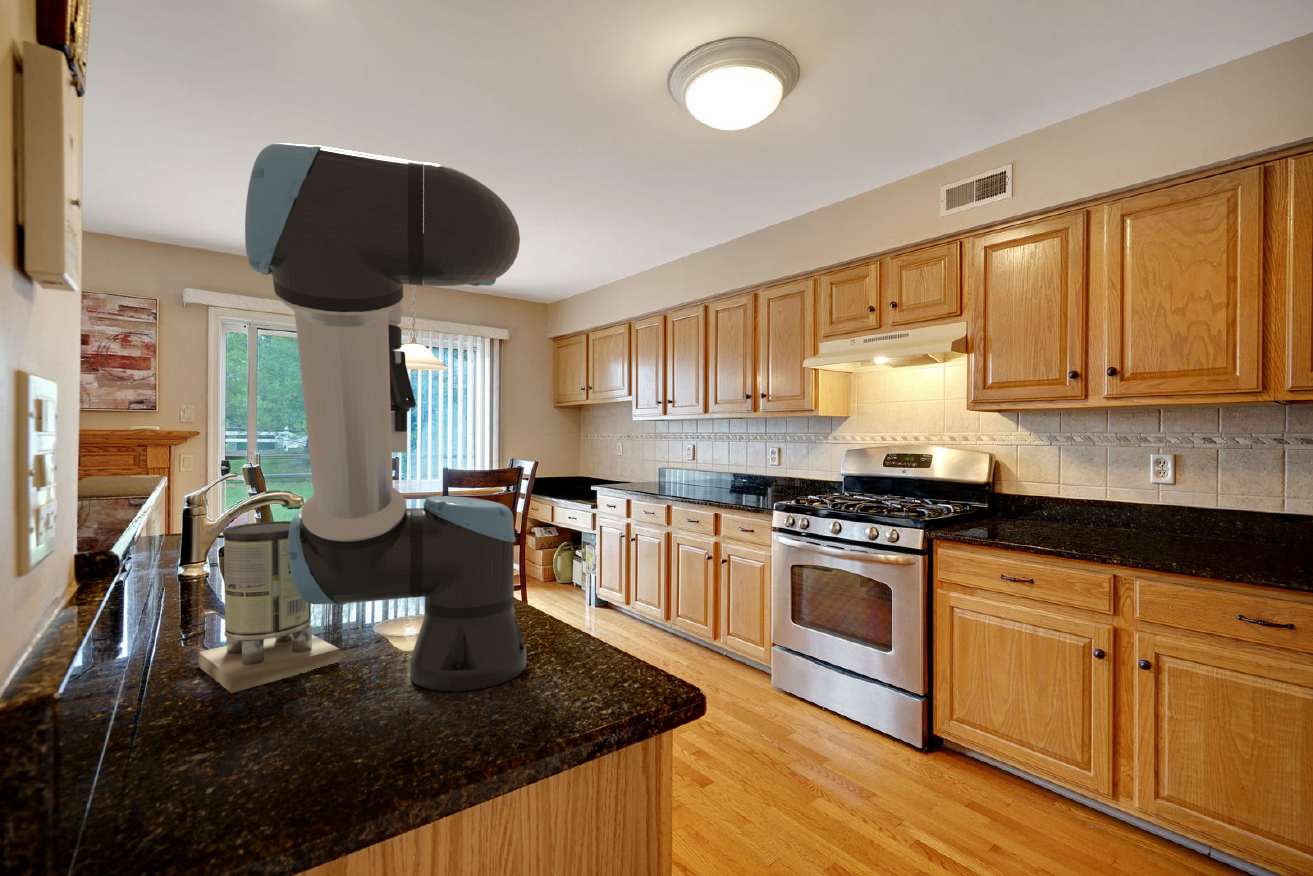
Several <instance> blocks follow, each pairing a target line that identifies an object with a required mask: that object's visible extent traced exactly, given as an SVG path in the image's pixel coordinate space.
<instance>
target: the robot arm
mask: <svg viewBox="0 0 1313 876" xmlns="http://www.w3.org/2000/svg"><path fill="white" fill-rule="evenodd" d="M253 163H254V164H253V166H252V168H251V169H252V170H251V174H250V177H249V183H248V188H247V195H246V204H245V215H244V216H245V218H244V241H245V242H244V243H245V252H246V256H247V258H248V264H249V266H250V268H251V269H252V270H254V271H255V272H257V273H260V274H261V275H262V276H265V275H266V276H269V275H270V274H271V276H272V277H271V278H272V282H273V283H272V284H273V289H274V294H275V295H274V296H275V297H276V298H277V299H278V300H279V301H280V302H281V303H283V304H284V305H286V306H287V307H288V308H290V309H291V310H292V311H293V312H294V318H295V326H296V327H295V328H296V329H295V330H296V335H297V337H296V338H297V345H298V348H297V349H298V355H299V366H300V375H301V383H302V384H301V386H302V394H303V395H302V396H303V403H304V412H305V413H304V414H305V422H306V424H305V425H306V431H307V442H308V451H309V453H308V454H309V460H310V461H309V462H310V469H311V470H310V471H311V478H312V480H311V481H312V488H313V489H312V490H313V493H312V495H311V496H309V498H308V499H307V500H306V501H305V502H304V504H303V505H302V508H301V512H298V513H297V514H295V515H294V516H293V517H292V519H291V520H290V521H291V524H290V528H289V535H288V552H289V555H290V560H289V566H290V571H291V576H292V580H293V583H294V586H295V588H296V590H297V592H298V594H299V595H300V597H301V598H302V599H303V600H305V601H306V602H308V603H311V605H335V606H340V605H341V606H343V605H346V604H353V603H357V604H358V603H365V602H375V601H376V602H378V601H389V600H399V599H410V598H424V615H423V616H424V617H423V620H422V622H421V623H422V624H421V625H420V629H419V632H418V635H417V637H416V640H415V644H414V646H413V651H412V654H411V656H410V661H409V665H410V666H409V668H410V669H409V677H410V679H411V681H412V682H413V683H414V684H416V685H417V686H419V687H422V688H425V689H429V690H434V691H443V692H465V691H472V690H473V691H474V690H481V689H487V688H490V687H494V686H498V685H501V684H504V683H506V682H508V681H511V680H513V679H515V678H516V677H518V676H520V674H522V673H523V672H524V671H525V670H526V667H527V648H526V647H527V646H526V643H525V642H524V641H525V640H524V638H523V635H522V631H521V629H520V625H519V622H518V619H517V616H516V613H515V608H514V607H515V605H514V601H515V598H514V597H515V589H514V588H515V587H514V585H515V583H514V580H515V576H514V575H515V574H514V573H515V569H514V567H515V565H514V563H515V561H514V560H515V559H514V557H515V556H514V555H515V554H514V553H515V552H514V551H515V549H514V548H515V546H514V545H515V542H516V539H517V538H516V536H515V528H514V527H515V526H514V525H515V524H514V515H513V512H512V510H511V508H509V507H508V506H507V505H505V504H503V503H501V502H497V501H496V502H495V501H491V500H485V499H480V498H474V497H473V498H472V497H465V496H450V495H445V496H443V495H433V496H432V495H431V496H428V497H426V498H425V500H424V502H423V504H422V505H423V507H417V508H414V507H413V508H412V507H411V508H410V507H409V508H408V507H407V502H406V499H405V496H403V494H402V493H401V492H400V491H399V490H397V489H396V488H394V485H393V484H394V483H393V453H397V454H398V453H407V451H408V450H407V449H408V443H407V442H408V438H407V437H408V412H410V409H411V408H412V409H413V408H416V405H417V403H416V399H415V395H414V392H413V389H412V384H411V381H410V376H409V373H408V368H407V365H406V364H407V363H406V352H405V351H401V350H400V349H401V348H402V328H400V326H399V325H400V324H401V323H402V313H403V309H402V302H403V300H404V285H413V286H426V287H427V286H430V287H452V286H453V287H454V286H464V285H465V286H466V285H467V286H469V285H470V286H472V287H473V286H474V287H478V286H490V287H491V286H493V285H494V284H495V283H496V281H497V279H498V278H500V277H501V276H503V275H504V274H505V273H507V272H508V271H509V269H510V268H511V267H512V266H513V265H514V263H515V261H516V259H517V257H518V254H519V251H520V245H521V244H520V243H521V242H520V241H521V236H520V230H519V229H520V228H519V226H518V225H519V224H518V222H517V220H516V217H515V216H514V213H513V212H512V210H511V209H510V207H509V206H508V205H507V204H506V203H505V201H504V200H503V199H502V198H501V196H499V195H498V194H497V193H495V192H494V191H493V190H492V189H490V188H489V187H488V186H486V185H485V184H483V183H482V182H480V181H478V180H477V179H475V178H473V177H472V176H470V175H468V174H466V173H464V172H461V171H459V170H457V169H455V168H452V167H448V166H445V165H442V164H438V163H433V162H426V161H425V162H422V161H416V160H408V159H402V158H396V157H390V156H383V155H377V154H376V155H375V154H370V153H365V152H358V151H352V150H345V149H339V148H335V147H327V146H323V145H322V144H321V145H320V144H314V145H311V144H310V145H309V144H296V143H284V142H283V143H282V142H281V143H279V142H278V143H277V142H276V143H271V144H269V145H267V146H265V147H264V148H263V149H262V150H261V151H260V152H259V154H258V155H257V157H256V159H255V161H254V162H253Z"/></svg>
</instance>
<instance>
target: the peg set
mask: <svg viewBox="0 0 1313 876" xmlns="http://www.w3.org/2000/svg"><path fill="white" fill-rule="evenodd" d="M312 635H313V626H312V625H311V624H310V625H309V626H308V627H307V628H305V629H303V630H301V631H298V632H296V633H292V634H289V635H286V636H281V637H275V642H277V643H284V642H289V641H292V652H295V653H301V652H306V651H309V650H311V649H312ZM225 638H226V646H227V654H239V653H242V664H243V665H255V664H259V663H261V662H263V661H264V639H262V640H233V639H229V638H227V637H226V636H225Z"/></svg>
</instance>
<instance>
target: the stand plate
mask: <svg viewBox="0 0 1313 876" xmlns="http://www.w3.org/2000/svg"><path fill="white" fill-rule="evenodd" d="M340 649H341V648H339V647H337V646H335V645H333V644H331V643H329V642H328V641H325V640H323V639H322V638H320V637H319V636H318V637H317V636H316V635H314V634H312V649H311V650H309V651H306V652H301V653H295V652H292V641H289V642H284V643H277V642H275V638H270V639H264V661H263V662H261V663H259V664H255V665H243V664H242V653H239V654H227V645H224V646H220V647H214V648H211V649H210V648H209V649H206V650H205V649H204V650H201V651H198V667H199V668H200V669H201V670H202V671H204V672H205V674H207V675H209V677H211V678H212V679H213V678H214V679H213V680H214V681H216V682H217V683H218V682H219V683H220V684H219V683H218V684H219V685H221V686H222V687H223V688H225V689H226V690H227V692H230V694H233V693H237V692H240V691H243V690H246V689H251V688H254V687H257V686H261V685H264V684H265V685H266V684H268V683H269V684H270V683H272V682H276V681H279V680H283V678H284V679H287V678H291V677H293V676H294V677H295V676H298V675H300V673H302V674H305V673H308V671H309V672H311V670H312V671H314V670H313V669H316V668H320V667H322V666H325V665H329V664H334V663H338V662H339V663H340ZM339 663H338V664H339ZM334 665H335V664H334ZM320 669H321V668H320ZM316 670H317V669H316Z"/></svg>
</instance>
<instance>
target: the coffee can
mask: <svg viewBox="0 0 1313 876" xmlns="http://www.w3.org/2000/svg"><path fill="white" fill-rule="evenodd" d="M291 521H292V520H280V521H279V520H276V521H263V522H253V523H244V524H239V525H234V526H230V527H227V528H224V529H222V536H223V547H224V548H223V549H224V550H223V554H224V556H223V558H224V559H223V561H224V567H223V568H224V574H223V575H224V630H225V631H224V636H225V638H226V637H227V638H229V639H233V640H262V639H270V638H275V637H281V636H286V635H289V634H292V633H296V632H298V631H301V630H303V629H305V628H307V627H308V626H309V625H310V626H311V623H312V618H311V616H312V615H311V614H312V609H311V606H312V604H311V603H308V602H306V601H305V600H303V599H302V598H301V597H300V595H299V594H298V592H297V590H296V588H295V586H294V583H293V580H292V576H291V571H290V566H289V560H290V555H289V552H288V535H289V528H290V524H291Z"/></svg>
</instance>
